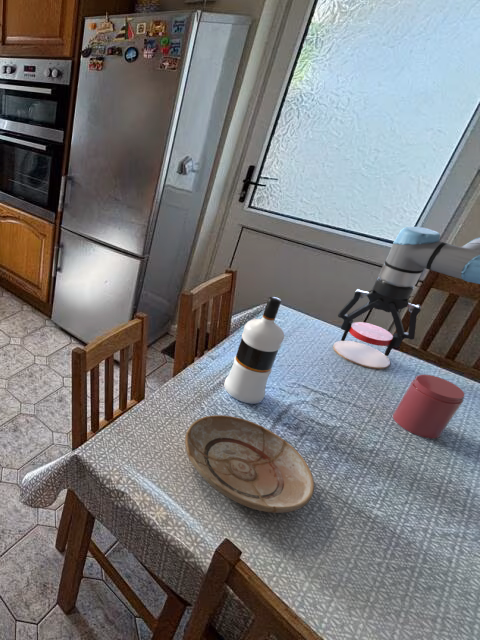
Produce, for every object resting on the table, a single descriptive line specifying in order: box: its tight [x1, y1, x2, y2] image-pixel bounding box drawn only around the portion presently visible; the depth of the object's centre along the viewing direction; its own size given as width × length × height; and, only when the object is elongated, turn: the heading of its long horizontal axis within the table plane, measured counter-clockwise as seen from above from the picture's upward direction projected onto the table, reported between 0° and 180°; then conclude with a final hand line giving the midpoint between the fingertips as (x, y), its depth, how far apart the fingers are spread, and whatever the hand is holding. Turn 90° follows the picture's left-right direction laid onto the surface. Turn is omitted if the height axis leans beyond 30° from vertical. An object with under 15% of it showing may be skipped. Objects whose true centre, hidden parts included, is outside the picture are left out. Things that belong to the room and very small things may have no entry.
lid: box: [348, 321, 394, 347], centre depth 122 cm, size 9×9×2 cm
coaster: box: [332, 339, 391, 370], centre depth 125 cm, size 13×13×1 cm
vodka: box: [223, 296, 285, 405], centre depth 106 cm, size 9×9×30 cm
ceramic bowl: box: [184, 414, 315, 514], centre depth 90 cm, size 23×24×5 cm
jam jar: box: [392, 374, 465, 440], centre depth 99 cm, size 8×8×12 cm
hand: (364, 346), depth 124 cm, fingers closed on lid, 9 cm apart
